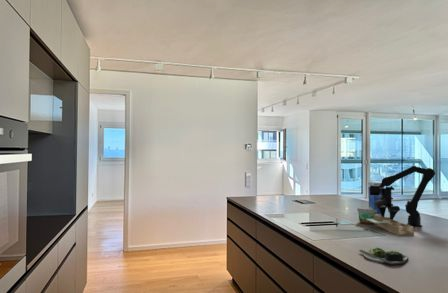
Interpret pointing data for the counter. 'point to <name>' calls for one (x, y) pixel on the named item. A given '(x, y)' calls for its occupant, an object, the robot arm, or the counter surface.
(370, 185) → the robot arm
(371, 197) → the string lights box
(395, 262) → the salad plate
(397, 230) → the box
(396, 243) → the counter surface
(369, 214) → the food container
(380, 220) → the cover
